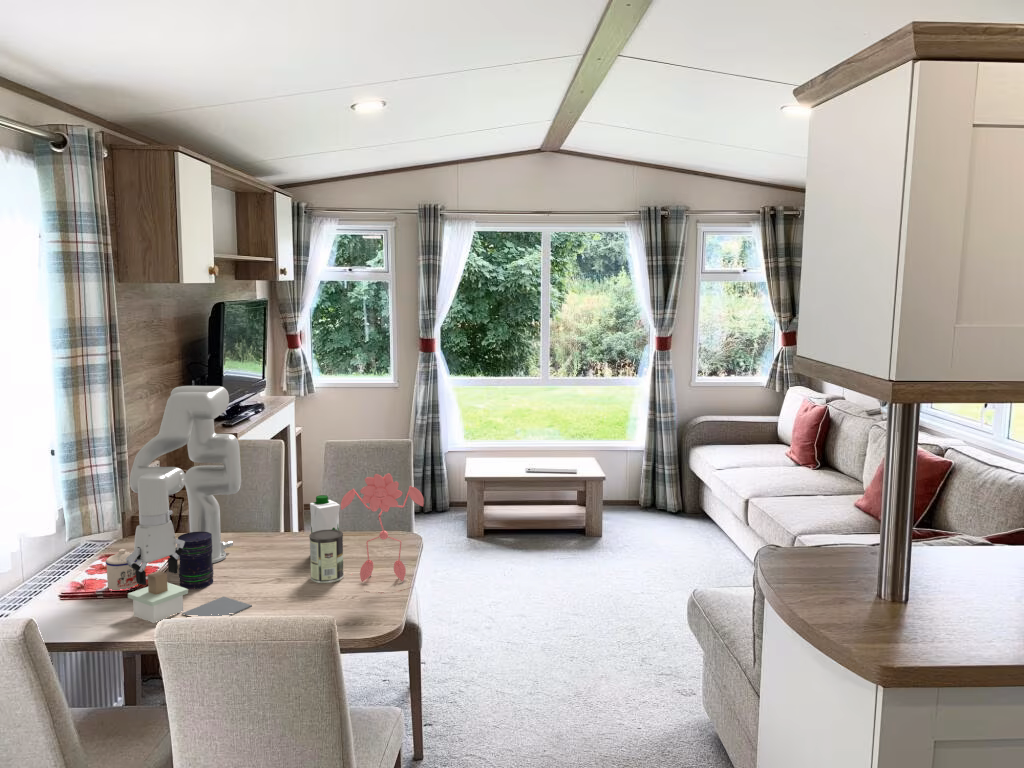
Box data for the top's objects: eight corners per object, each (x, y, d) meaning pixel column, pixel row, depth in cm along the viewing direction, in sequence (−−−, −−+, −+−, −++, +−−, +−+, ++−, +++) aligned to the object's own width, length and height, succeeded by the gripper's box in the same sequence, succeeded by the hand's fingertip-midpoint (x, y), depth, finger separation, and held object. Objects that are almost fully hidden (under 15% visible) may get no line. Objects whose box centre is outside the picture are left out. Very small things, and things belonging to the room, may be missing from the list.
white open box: (162, 605, 222) (162, 587, 221) (183, 612, 217) (182, 593, 217) (133, 616, 214) (132, 597, 213) (154, 623, 210) (153, 604, 209)
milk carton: (331, 548, 271) (330, 493, 268) (343, 556, 264) (342, 498, 261) (308, 554, 265) (306, 497, 263) (319, 561, 258) (318, 503, 256)
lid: (163, 585, 223) (163, 564, 222) (188, 593, 217) (187, 571, 216) (127, 597, 213) (126, 576, 213) (152, 606, 208) (151, 584, 207)
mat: (223, 597, 227) (223, 596, 227) (251, 606, 221) (251, 605, 221) (182, 614, 215) (181, 613, 215) (210, 624, 209) (210, 622, 209)
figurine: (344, 574, 247) (342, 467, 242) (425, 575, 247) (425, 468, 242) (334, 594, 232) (332, 480, 227) (420, 595, 232) (420, 481, 227)
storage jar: (175, 582, 239) (173, 535, 237) (208, 575, 245) (206, 529, 243) (184, 592, 231) (182, 543, 229) (218, 585, 237) (216, 537, 235)
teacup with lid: (118, 595, 228) (116, 557, 227) (100, 588, 233) (98, 551, 231) (155, 582, 238) (153, 545, 237) (137, 576, 243) (135, 540, 242)
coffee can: (331, 569, 251) (330, 527, 250) (350, 577, 244) (349, 534, 243) (303, 577, 244) (302, 534, 242) (322, 586, 237) (321, 541, 235)
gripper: (173, 508, 222) (176, 565, 224) (116, 524, 207) (120, 585, 209) (190, 512, 218) (193, 571, 220) (133, 529, 203) (137, 591, 206)
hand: (157, 578), depth 215 cm, fingers open, 9 cm apart
